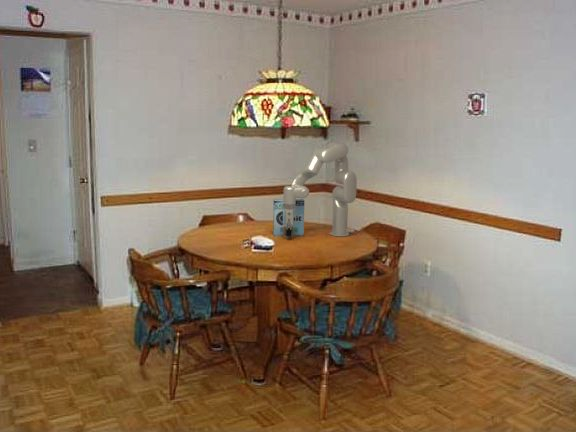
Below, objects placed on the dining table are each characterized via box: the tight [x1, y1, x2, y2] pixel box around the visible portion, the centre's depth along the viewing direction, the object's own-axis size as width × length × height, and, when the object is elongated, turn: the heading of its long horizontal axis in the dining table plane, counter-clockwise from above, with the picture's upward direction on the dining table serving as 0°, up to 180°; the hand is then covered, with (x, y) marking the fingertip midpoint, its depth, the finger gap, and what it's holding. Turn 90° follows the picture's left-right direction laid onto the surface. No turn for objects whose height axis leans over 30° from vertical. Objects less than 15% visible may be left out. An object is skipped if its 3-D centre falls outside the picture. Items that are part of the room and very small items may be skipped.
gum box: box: [272, 198, 305, 237], centre depth 372 cm, size 20×5×23 cm, turn 97°
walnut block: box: [282, 227, 294, 240], centre depth 367 cm, size 6×9×6 cm, turn 178°
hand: (288, 235), depth 360 cm, fingers closed
